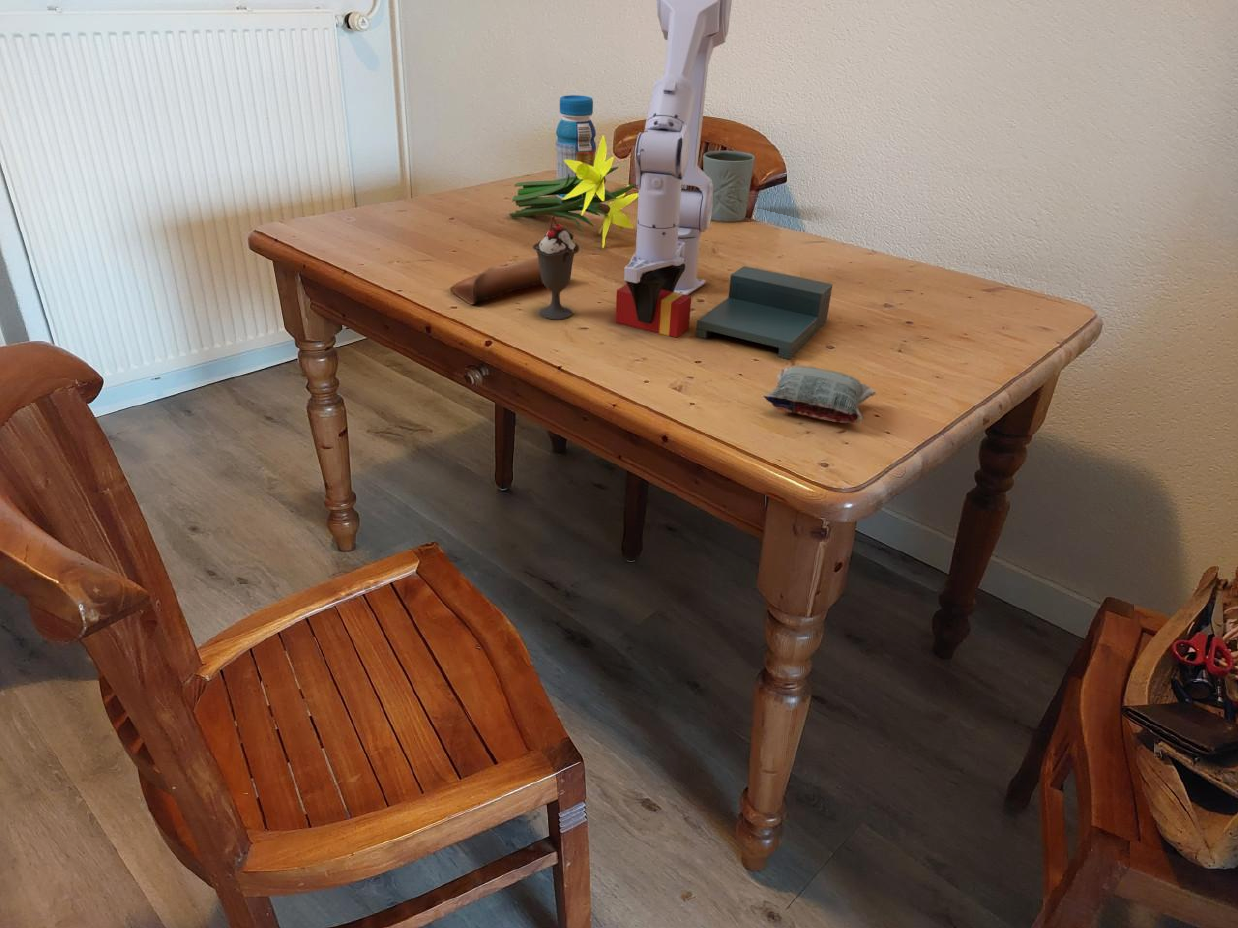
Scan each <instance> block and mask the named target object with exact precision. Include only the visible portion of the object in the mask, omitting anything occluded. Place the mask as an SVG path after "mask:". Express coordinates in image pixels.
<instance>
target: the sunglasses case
mask: <svg viewBox="0 0 1238 928" xmlns="http://www.w3.org/2000/svg"><path fill="white" fill-rule="evenodd" d="M542 284H543V283H542V278H541V274H540V266H539V260H538V257H532V258H526V259H522V260H521V259H520V260H518V261H514V262H511V263H504V264H500V265H499V266H493V267H489V268H487V269H485V270H484V271H482V273H478V274H475V275H472V276H469V277H467V278H464V279H462V280H460V281H458V282H456V283H455V284H453V285H451V286H450V289H449V290H450V292H452V293H453V294H454V295H455V296H456V297H457V298H459V299H460V300H462V301H464V303H467V304H468V305H470V306H473V305H475V304H476V303H477V302H483V301H486V300H490V299H492V298H494V297H498V296H500V295H502V294H507V293H509V292H511V291H516V290H521V289H525V288H526V289H527V288H530V287H533V286H535V285H542ZM543 285H544V284H543Z"/></svg>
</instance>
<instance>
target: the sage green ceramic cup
mask: <svg viewBox="0 0 1238 928" xmlns="http://www.w3.org/2000/svg"><path fill="white" fill-rule="evenodd" d="M755 157H756V156H754V155H753V154H751V153H749V152H744V151H739V150H713V151H707V152H704V153H703V155H702V162H703V163H702V164H703V165H702V166H703V167H702V168H703V170H702V171H703V172H704V173H705V174H706V175H707V176H708V177H709V178H710V179H711V180H712V184H713V194H712V195H713V205H712V215H711V221H715V222H719V223H735V222H741V221H744V220H745V218H746V215H747V209H748V202H749V197H750V190H751V183H752V175H753V170H754V165H755V159H756V158H755Z"/></svg>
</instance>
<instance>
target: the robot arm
mask: <svg viewBox="0 0 1238 928" xmlns="http://www.w3.org/2000/svg"><path fill="white" fill-rule="evenodd" d="M732 2H733V0H656V14H657V18H658V21H659V25H660V29H661V32H662V35H663V39H664V40H665V41H666V49H665V60H664V71H663V76H662V77H660V78H658V79H657V80H656V81H655V82H654V83H653V86H652V90H651V94H650V95H651V96H650V99H649V106H648V110H647V116H646V120H645V126H644V132H640V131H639V133H638V134H637V137H636V142H635V149H634V166H635V167H634V168H635V184H636V186H635V187H636V189H638V192H637V193H638V197H637V217H636V236H635V237H636V239H635V251H634V253H633V254H632V257H631V258H630V261H629V263H628V264H627V265H626V266H624V273H623V274H624V275H623V281H624V282H625V284H627V285H628V287H629V289H630V291H631V293H632V296H633V300H634V304H635V308H636V313H637V318H638V321H641V322H645V323H649V324H651V323H652V322H653V319H654V316H655V311H656V305H657V300H658V296H659V293H660V290H661V289H662V290H667V291H671V292H677V293H681V294H685V295H690V294H691V293H694V292H695V291H696V290H698V289H699V288H701V287H702V286H703V285H705V284H706V280H705V279H702V278H698V277H697V276H698V265H699V255H700V253H699V252H700V244H701V243H700V242H701V241H700V240H701V233H706V231H707V230H708V229H710V225H711V222H712V220H711V215H712V205H713V195H712V194H713V184H712V180H711V179H710V178H709V177H708V176H707V175H706V174H705V173H704V172H703V171H704V170H702V169H701V167H700V166H699V155H700V146H701V137H702V127H703V118H704V110H705V101H706V92H707V91H706V90H707V82H708V72H709V64H710V61H711V57H712V55H713V52H714V49H715V48H717V47H719V46H721V45H723V44H725V43H726V40H727V36H728V34H729V28H730V20H731V11H732V4H733V3H732ZM683 186H689V187H690V186H692V187H696V188H698V189H695V188H694V189H693V188H684V187H683ZM682 187H683V188H682Z"/></svg>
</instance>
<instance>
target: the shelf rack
mask: <svg viewBox="0 0 1238 928" xmlns="http://www.w3.org/2000/svg"><path fill="white" fill-rule="evenodd" d="M832 291H833V284H832V283H829V282H824V281H818V280H814V279H810V278H805V277H799V276H794V275H790V274H786V273H781V272H775V271H770V270H766V269H762V268H757V267H751V266H746V265H743V266H742V267H740V268H739V269H737V270H736V271H734V272H733V273H731V274H730V280H729V288H728V297H727V298H726V299H724V300H723V301H722V302H720V303H719V304H717V305H716V306H714V307H713V308H712V309H711V310H709V311H707V313H705V314H704V315H703V316H701V317H699V318H698V319H697V320H696V330H695V337H697V338H701V339H704V340H706V339H708V338H709V337H710V336H712V335H713V334H714V333H716V334H720V335H724V336H729V337H733V338H737V339H741V340H745V341H749V342H753V343H756V344H762V345H765V346H770V347H774V348H776V349H777V348H778V353H777V354H778V358H781V359H785V360H790V359H791V358H792V357H793V356H794V355H795V354H796V353H797V352H798V351H800V349H801V348H802V347H803V346H804V345H805V344H806V343H808V341H809V340H810V339H811V338H812V337H813V336H814V335H815V334H816V333H817V332H819V330H821V328H822V327H824V325H826V323H827V320H828V315H829V314H828V313H829V310H830V309H829V308H830V302H831V297H832V296H831V295H832Z"/></svg>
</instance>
